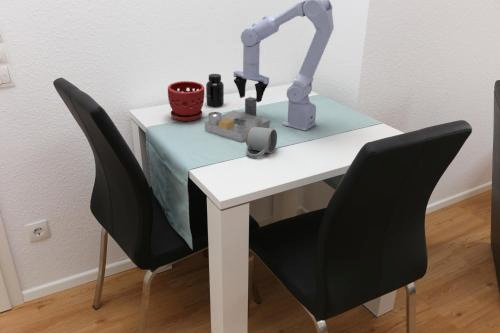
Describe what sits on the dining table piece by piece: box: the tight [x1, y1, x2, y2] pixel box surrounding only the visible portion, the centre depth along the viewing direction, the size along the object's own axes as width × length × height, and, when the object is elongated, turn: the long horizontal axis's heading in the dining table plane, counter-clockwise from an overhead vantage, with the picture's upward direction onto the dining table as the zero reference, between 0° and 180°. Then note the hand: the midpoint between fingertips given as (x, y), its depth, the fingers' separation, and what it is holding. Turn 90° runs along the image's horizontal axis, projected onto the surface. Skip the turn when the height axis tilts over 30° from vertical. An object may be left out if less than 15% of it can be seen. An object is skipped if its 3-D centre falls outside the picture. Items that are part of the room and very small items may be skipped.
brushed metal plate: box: [204, 110, 271, 143], centre depth 163 cm, size 16×16×6 cm
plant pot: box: [167, 80, 205, 122], centre depth 172 cm, size 13×13×12 cm
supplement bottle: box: [205, 73, 225, 108], centre depth 185 cm, size 7×7×12 cm
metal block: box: [244, 96, 258, 116], centre depth 174 cm, size 3×3×7 cm
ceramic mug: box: [245, 127, 278, 159], centre depth 146 cm, size 11×8×8 cm
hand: (250, 99), depth 173 cm, fingers open, 7 cm apart
